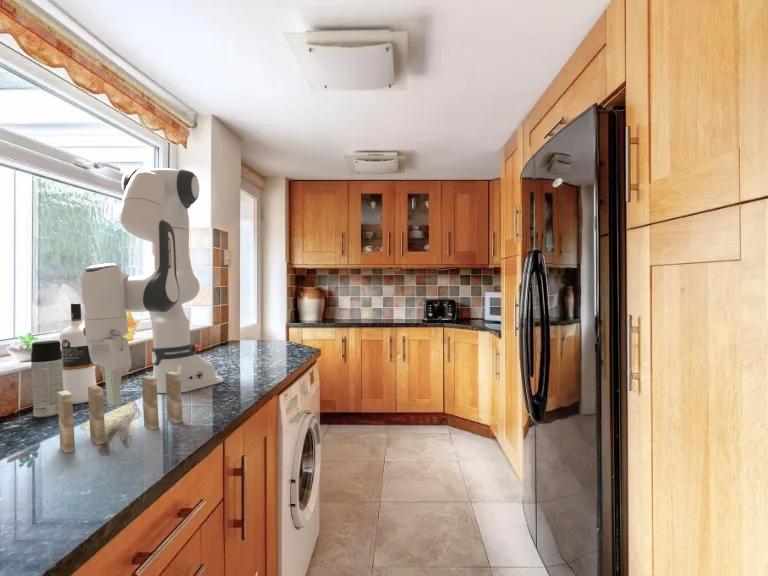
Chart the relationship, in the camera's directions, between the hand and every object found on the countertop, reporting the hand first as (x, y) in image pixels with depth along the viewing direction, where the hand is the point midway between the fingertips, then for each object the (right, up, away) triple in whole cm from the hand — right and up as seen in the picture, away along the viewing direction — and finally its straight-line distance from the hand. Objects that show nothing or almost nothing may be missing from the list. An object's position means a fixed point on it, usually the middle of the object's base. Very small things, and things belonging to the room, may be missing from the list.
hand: (112, 384), depth 105 cm
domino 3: (0, -5, 0) cm, 5 cm away
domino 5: (+15, -9, +1) cm, 18 cm away
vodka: (-25, -11, +24) cm, 36 cm away
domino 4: (+11, -10, -3) cm, 15 cm away
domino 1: (0, -10, -15) cm, 19 cm away
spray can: (-24, -11, +11) cm, 29 cm away
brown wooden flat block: (+4, -10, -11) cm, 16 cm away
